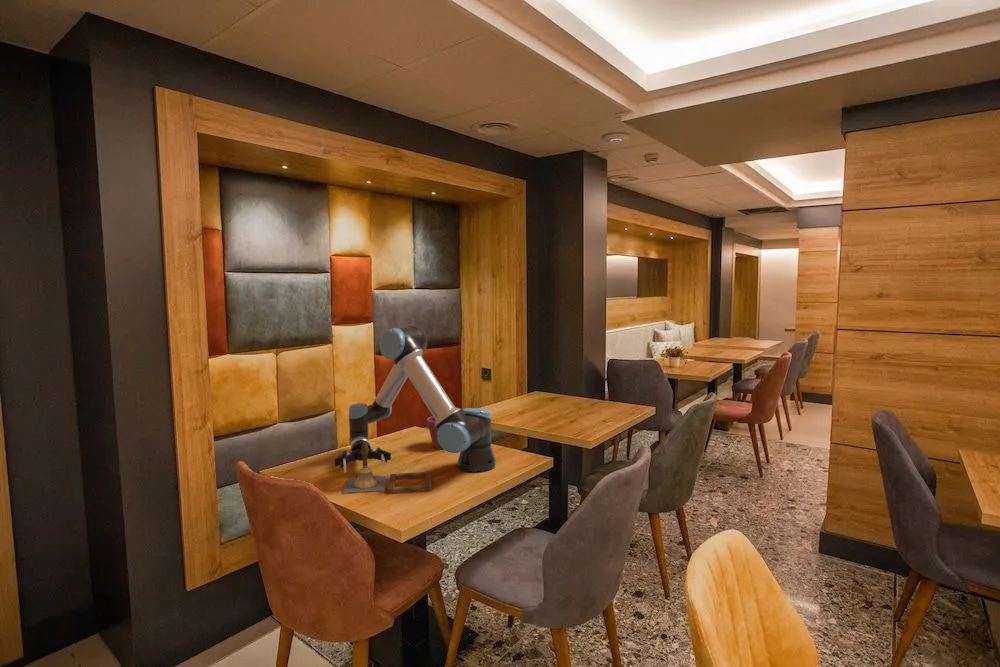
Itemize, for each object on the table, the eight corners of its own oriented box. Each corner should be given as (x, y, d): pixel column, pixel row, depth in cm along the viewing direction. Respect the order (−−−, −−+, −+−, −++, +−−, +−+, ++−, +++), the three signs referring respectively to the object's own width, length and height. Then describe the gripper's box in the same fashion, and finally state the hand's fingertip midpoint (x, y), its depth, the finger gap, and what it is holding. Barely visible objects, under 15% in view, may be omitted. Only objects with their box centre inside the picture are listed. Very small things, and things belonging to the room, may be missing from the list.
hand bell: (380, 486, 183) (379, 442, 182) (357, 490, 179) (355, 446, 178) (373, 478, 191) (372, 436, 189) (351, 482, 186) (349, 440, 185)
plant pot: (459, 440, 238) (458, 413, 237) (459, 450, 224) (459, 421, 223) (428, 442, 236) (427, 415, 235) (426, 451, 223) (426, 422, 221)
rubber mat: (386, 476, 193) (386, 475, 193) (383, 491, 180) (383, 490, 180) (348, 479, 191) (348, 478, 191) (342, 493, 178) (342, 492, 178)
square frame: (430, 475, 194) (430, 471, 194) (431, 490, 180) (431, 486, 180) (390, 477, 192) (390, 473, 192) (387, 493, 177) (387, 489, 177)
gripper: (392, 454, 208) (400, 472, 188) (328, 461, 200) (328, 480, 180) (392, 436, 207) (399, 452, 187) (327, 442, 199) (327, 460, 179)
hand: (364, 466), depth 183 cm, fingers open, 13 cm apart
